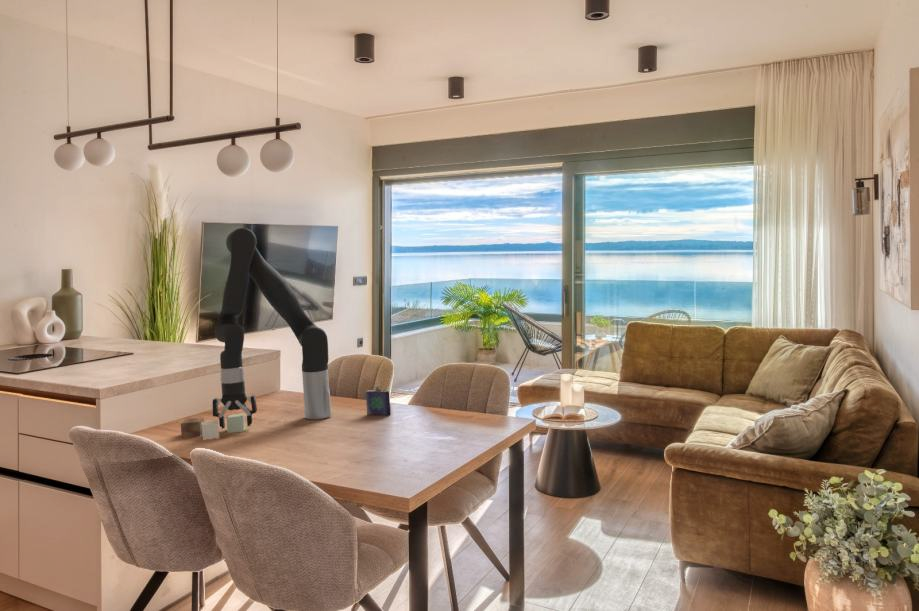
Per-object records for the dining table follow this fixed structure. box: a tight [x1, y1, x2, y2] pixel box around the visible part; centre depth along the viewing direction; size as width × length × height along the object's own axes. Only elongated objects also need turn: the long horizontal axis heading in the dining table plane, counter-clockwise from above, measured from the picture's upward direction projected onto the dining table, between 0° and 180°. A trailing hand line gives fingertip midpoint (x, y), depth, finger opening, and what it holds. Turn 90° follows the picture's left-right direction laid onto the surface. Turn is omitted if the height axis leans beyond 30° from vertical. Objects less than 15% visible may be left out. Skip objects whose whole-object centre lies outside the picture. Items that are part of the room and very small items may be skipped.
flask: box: [365, 385, 392, 417], centre depth 239 cm, size 9×3×11 cm, turn 71°
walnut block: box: [180, 417, 205, 438], centre depth 224 cm, size 6×6×5 cm
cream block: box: [201, 419, 220, 441], centre depth 219 cm, size 5×5×5 cm
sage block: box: [226, 413, 246, 433], centre depth 227 cm, size 5×5×5 cm
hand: (236, 426), depth 227 cm, fingers open, 8 cm apart
